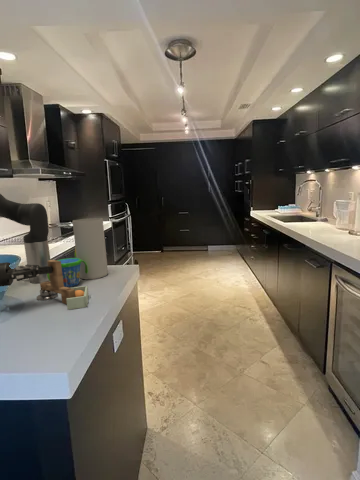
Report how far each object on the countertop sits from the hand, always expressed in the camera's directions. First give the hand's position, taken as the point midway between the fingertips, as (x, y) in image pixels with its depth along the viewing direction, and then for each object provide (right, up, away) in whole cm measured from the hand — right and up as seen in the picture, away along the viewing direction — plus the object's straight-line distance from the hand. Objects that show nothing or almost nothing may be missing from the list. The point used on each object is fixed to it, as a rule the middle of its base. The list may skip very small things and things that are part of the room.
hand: (51, 269), depth 98 cm
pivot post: (-5, -11, +8) cm, 14 cm away
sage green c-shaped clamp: (+9, -11, +1) cm, 14 cm away
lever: (+1, -11, +3) cm, 11 cm away
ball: (+9, -9, +1) cm, 13 cm away
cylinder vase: (+4, -6, +33) cm, 33 cm away
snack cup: (-2, -9, +21) cm, 22 cm away
